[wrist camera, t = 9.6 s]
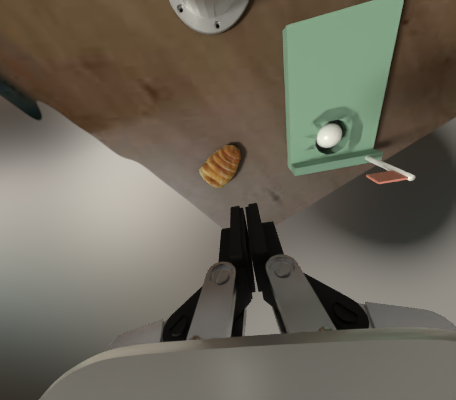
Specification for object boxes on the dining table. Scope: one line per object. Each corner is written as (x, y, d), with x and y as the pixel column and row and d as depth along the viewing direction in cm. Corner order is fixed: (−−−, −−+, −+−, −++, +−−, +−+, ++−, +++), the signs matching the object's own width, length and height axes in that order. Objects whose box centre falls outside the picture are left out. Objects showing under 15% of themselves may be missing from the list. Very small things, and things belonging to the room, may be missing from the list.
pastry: (223, 135, 35) (222, 139, 31) (248, 155, 37) (250, 161, 33) (198, 170, 38) (194, 177, 35) (222, 187, 41) (221, 195, 37)
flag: (330, 152, 36) (379, 180, 24) (353, 148, 35) (416, 174, 23) (329, 156, 36) (378, 186, 24) (352, 151, 35) (414, 180, 23)
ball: (318, 154, 34) (316, 136, 35) (344, 148, 32) (341, 128, 33) (314, 143, 31) (312, 123, 32) (343, 135, 28) (339, 114, 30)
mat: (282, 31, 26) (292, 18, 22) (390, 0, 25) (424, -21, 20) (288, 166, 37) (295, 175, 33) (363, 152, 35) (381, 160, 31)
